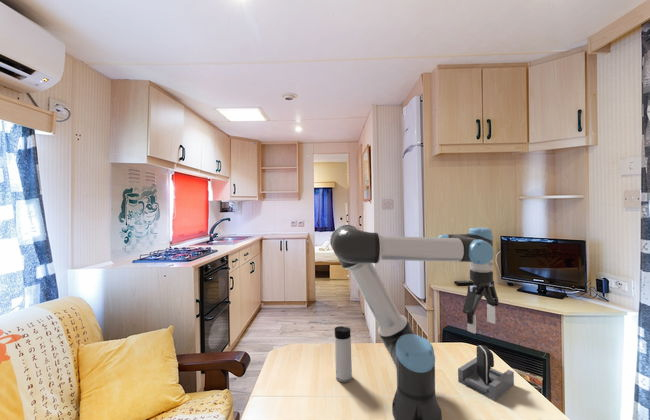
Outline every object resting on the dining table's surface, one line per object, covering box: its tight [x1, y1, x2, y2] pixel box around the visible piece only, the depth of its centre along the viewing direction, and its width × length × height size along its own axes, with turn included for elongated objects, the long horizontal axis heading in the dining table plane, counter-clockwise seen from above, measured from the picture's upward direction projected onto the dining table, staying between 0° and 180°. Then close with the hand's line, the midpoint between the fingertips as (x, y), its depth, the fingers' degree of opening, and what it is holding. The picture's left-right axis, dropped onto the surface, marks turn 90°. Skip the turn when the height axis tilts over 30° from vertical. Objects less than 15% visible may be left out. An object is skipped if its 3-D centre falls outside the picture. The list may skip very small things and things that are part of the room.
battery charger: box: [476, 344, 495, 384], centre depth 105 cm, size 7×4×11 cm, turn 173°
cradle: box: [457, 356, 515, 402], centre depth 105 cm, size 14×13×5 cm
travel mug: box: [334, 325, 353, 383], centre depth 111 cm, size 6×7×20 cm
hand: (481, 327), depth 105 cm, fingers open, 13 cm apart
